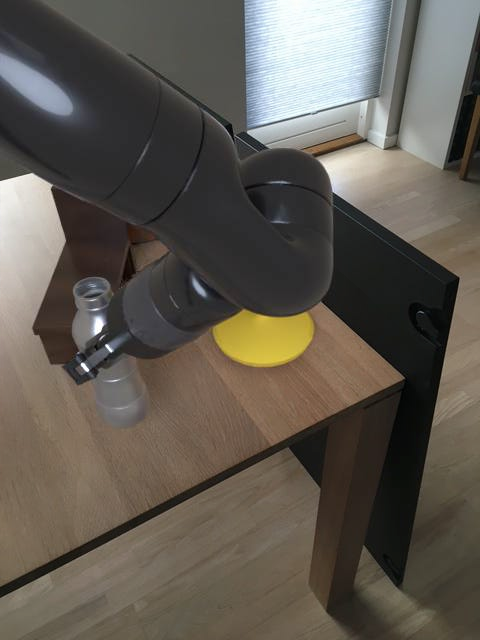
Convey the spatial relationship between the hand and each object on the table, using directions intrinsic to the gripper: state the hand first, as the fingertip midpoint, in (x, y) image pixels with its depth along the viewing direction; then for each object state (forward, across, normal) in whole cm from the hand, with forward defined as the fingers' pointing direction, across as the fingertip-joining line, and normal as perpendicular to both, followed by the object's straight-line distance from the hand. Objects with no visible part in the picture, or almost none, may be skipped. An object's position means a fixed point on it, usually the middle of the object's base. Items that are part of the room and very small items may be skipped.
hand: (99, 350), depth 60 cm
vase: (+9, -26, +15) cm, 32 cm away
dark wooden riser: (+29, -16, -4) cm, 33 cm away
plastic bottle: (+6, 0, +9) cm, 11 cm away
